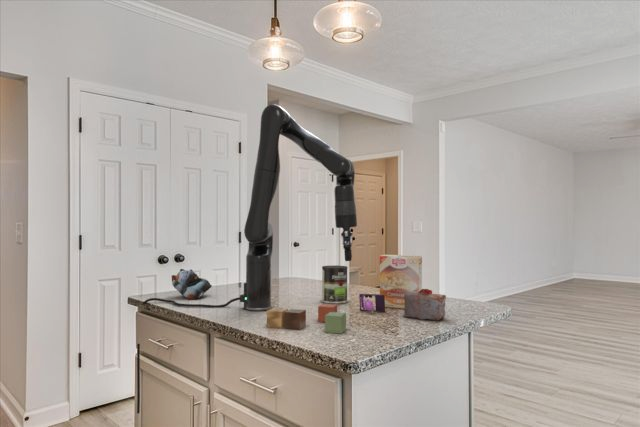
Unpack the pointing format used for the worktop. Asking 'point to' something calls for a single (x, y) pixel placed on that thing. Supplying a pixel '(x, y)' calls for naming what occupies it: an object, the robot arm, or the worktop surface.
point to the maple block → (276, 317)
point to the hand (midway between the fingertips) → (348, 259)
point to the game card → (368, 304)
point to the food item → (424, 305)
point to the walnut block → (295, 319)
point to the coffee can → (334, 284)
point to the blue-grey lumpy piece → (190, 284)
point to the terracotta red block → (325, 311)
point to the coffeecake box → (399, 278)
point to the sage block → (335, 322)
